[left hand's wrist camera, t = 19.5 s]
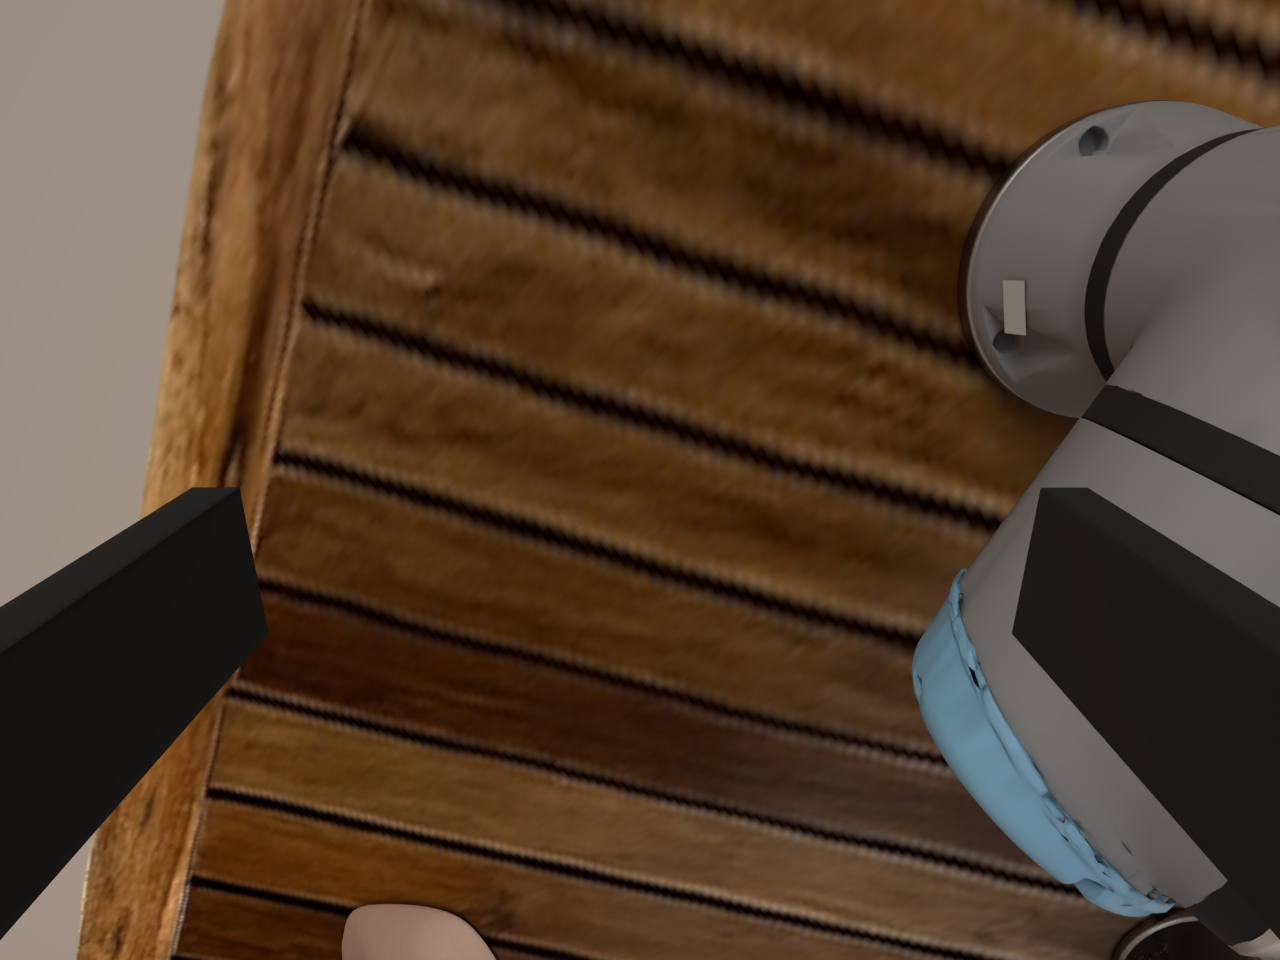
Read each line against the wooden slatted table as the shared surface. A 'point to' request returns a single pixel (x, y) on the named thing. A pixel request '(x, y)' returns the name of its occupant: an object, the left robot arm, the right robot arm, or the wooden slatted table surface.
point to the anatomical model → (410, 935)
